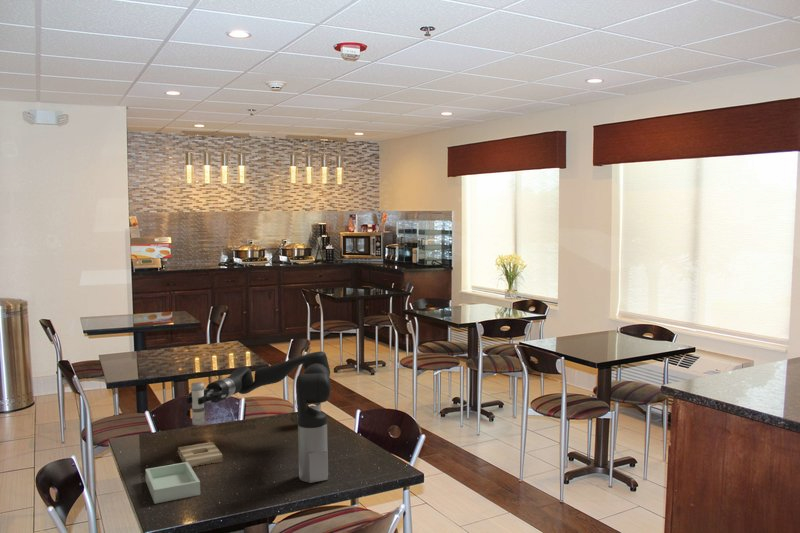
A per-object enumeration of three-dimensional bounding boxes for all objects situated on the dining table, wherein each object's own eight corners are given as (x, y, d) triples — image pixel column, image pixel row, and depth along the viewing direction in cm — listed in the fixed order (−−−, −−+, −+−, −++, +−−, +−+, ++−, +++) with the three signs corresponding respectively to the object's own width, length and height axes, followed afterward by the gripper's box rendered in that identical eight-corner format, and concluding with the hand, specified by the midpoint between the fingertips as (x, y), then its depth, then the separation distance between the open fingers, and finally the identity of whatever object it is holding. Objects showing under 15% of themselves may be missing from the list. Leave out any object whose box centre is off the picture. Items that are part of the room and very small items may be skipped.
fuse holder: (222, 461, 224) (222, 454, 224) (186, 467, 218) (186, 460, 218) (212, 448, 238) (212, 441, 238) (178, 454, 232) (178, 447, 232)
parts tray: (200, 494, 195) (200, 481, 195) (154, 503, 189) (154, 490, 189) (188, 473, 213) (187, 461, 213) (145, 481, 207) (145, 469, 206)
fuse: (206, 423, 227) (204, 384, 226) (193, 425, 225) (192, 385, 224) (203, 420, 230) (202, 381, 230) (191, 422, 228) (190, 383, 228)
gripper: (203, 378, 243) (175, 389, 226) (237, 380, 238) (210, 391, 222) (204, 398, 243) (175, 410, 227) (238, 400, 239) (211, 413, 222)
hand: (193, 401), depth 224 cm, fingers closed on fuse, 4 cm apart
